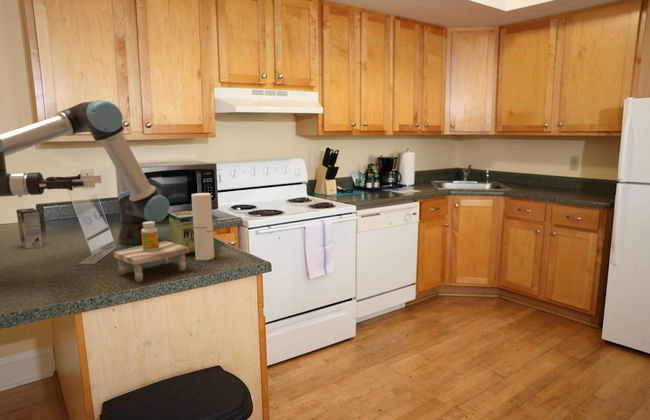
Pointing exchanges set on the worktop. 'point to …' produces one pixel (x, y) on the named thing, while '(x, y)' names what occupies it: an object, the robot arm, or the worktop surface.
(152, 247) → the supplement bottle
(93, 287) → the worktop surface
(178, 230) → the protein box
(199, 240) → the cylindrical container
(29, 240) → the coffee box
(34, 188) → the robot arm
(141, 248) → the light wood low table
